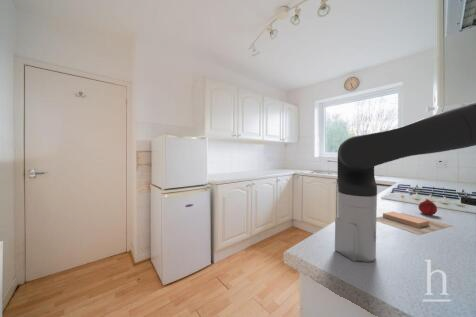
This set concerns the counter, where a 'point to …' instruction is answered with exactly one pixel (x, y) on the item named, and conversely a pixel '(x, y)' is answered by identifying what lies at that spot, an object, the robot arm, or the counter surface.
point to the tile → (406, 219)
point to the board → (421, 230)
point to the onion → (427, 207)
